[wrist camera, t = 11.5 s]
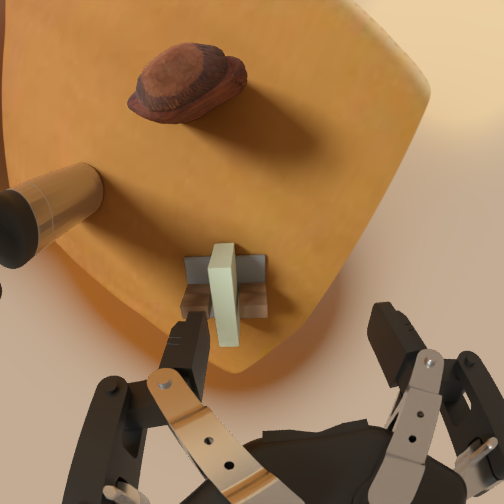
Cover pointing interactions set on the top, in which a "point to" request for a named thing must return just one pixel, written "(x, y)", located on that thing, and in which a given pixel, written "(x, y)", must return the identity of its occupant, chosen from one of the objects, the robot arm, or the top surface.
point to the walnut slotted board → (249, 300)
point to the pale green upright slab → (225, 293)
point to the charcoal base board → (246, 269)
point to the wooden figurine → (186, 83)
